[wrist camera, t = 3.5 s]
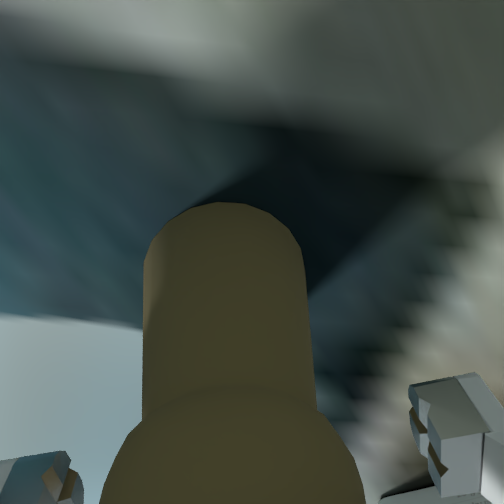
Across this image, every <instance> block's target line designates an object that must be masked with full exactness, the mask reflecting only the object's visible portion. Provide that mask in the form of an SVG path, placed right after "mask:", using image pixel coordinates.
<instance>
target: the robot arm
mask: <svg viewBox="0 0 504 504" xmlns="http://www.w3.org/2000/svg"><path fill="white" fill-rule="evenodd" d="M408 395H409V399H410V401H411V403H412V406H413V407H412V408H411V410H410V411H409V416H410V424H411V429H412V433H413V436H414V439H415V442H416V445H417V447H418V449H419V451H420V453H421V454H422V455H424V456H425V457H427V458H428V471H429V473H430V475H431V477H432V480H433V482H434V484H435V486H436V488H437V490H438V492H439V494H440V497H441V498H444V497H450V496H457V495H464V494H470V493H477V492H481V495H483V496H484V497H485V498H486V499H488V500H489V501H490V502H491V503H492V504H504V408H503V407H502V405H501V404H500V403H499V401H498V400H497V399H496V397H495V396H494V394H493V393H492V392H491V390H490V389H489V388H488V386H487V385H486V384H485V382H484V381H483V379H482V378H481V377H480V375H478V374H477V373H475V372H473V373H468V374H463V375H458V376H453V377H447V378H442V379H437V380H432V381H427V382H422V383H417V384H412V385H409V389H408ZM70 462H71V459H70V458H69V456H68V455H67V453H66V451H56V452H49V453H43V454H37V455H31V456H24V457H20V458H14V459H8V460H2V461H0V504H83V503H84V488H83V484H82V480H81V478H80V476H79V474H78V473H77V472H75V471H74V470H72V469H70V468H69V465H70Z"/></svg>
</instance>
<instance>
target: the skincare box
mask: <svg viewBox="0 0 504 504" xmlns="http://www.w3.org/2000/svg"><path fill="white" fill-rule="evenodd" d="M378 504H492V503H491V502H490V501H489V500H488V499H486V498H485V497H484V496H483V495H481V492H477V493H470V494H464V495H457V496H450V497H444V498H441V497H440V494H439V492H438V490H437V488H436V486H433V487H428V488H424V489H420V490H416V491H411V492H407V493H403V494H397V495H393V496H389V497H385V498H383V499H381V500H380V501H379V503H378Z"/></svg>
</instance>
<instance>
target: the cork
mask: <svg viewBox="0 0 504 504" xmlns="http://www.w3.org/2000/svg"><path fill="white" fill-rule="evenodd" d="M99 504H366V501H365V495H364V489H363V484H362V481H361V478H360V475H359V472H358V469H357V466H356V463H355V460H354V458H353V456H352V455H351V453H350V452H349V450H348V448H347V447H346V445H345V444H344V442H343V441H342V439H341V438H340V436H339V435H338V433H337V432H336V431H335V429H334V428H333V427H332V425H331V424H330V423H329V421H328V420H327V418H326V417H325V416H324V414H322V413H320V412H319V411H317V403H316V391H315V380H314V368H313V357H312V345H311V334H310V322H309V311H308V300H307V288H306V277H305V268H304V263H303V258H302V253H301V248H300V246H299V245H298V243H297V242H296V240H295V238H294V237H293V235H292V233H291V232H290V230H289V229H288V228H287V227H286V226H285V225H283V224H282V223H281V222H280V221H278V220H277V219H276V218H275V217H273V216H272V215H271V214H270V213H268V212H265V211H263V210H260V209H257V208H255V207H252V206H249V205H247V204H242V203H227V202H215V203H210V204H206V205H202V206H198V207H193V208H190V209H188V210H187V211H185V212H183V213H182V214H180V215H178V216H177V217H175V218H173V219H172V220H170V221H168V222H167V223H166V225H165V226H164V227H163V228H162V229H161V230H160V232H159V233H158V234H157V235H156V236H155V237H154V239H153V240H152V242H151V244H150V247H149V250H148V252H147V255H146V258H145V260H144V287H143V375H142V421H141V422H140V423H139V424H138V425H137V426H136V427H135V428H134V429H133V430H132V431H131V432H130V433H129V434H128V436H127V437H126V439H125V441H124V443H123V445H122V446H121V448H120V450H119V452H118V454H117V456H116V458H115V460H114V462H113V465H112V467H111V469H110V471H109V474H108V476H107V479H106V481H105V483H104V487H103V490H102V494H101V498H100V502H99Z"/></svg>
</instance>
